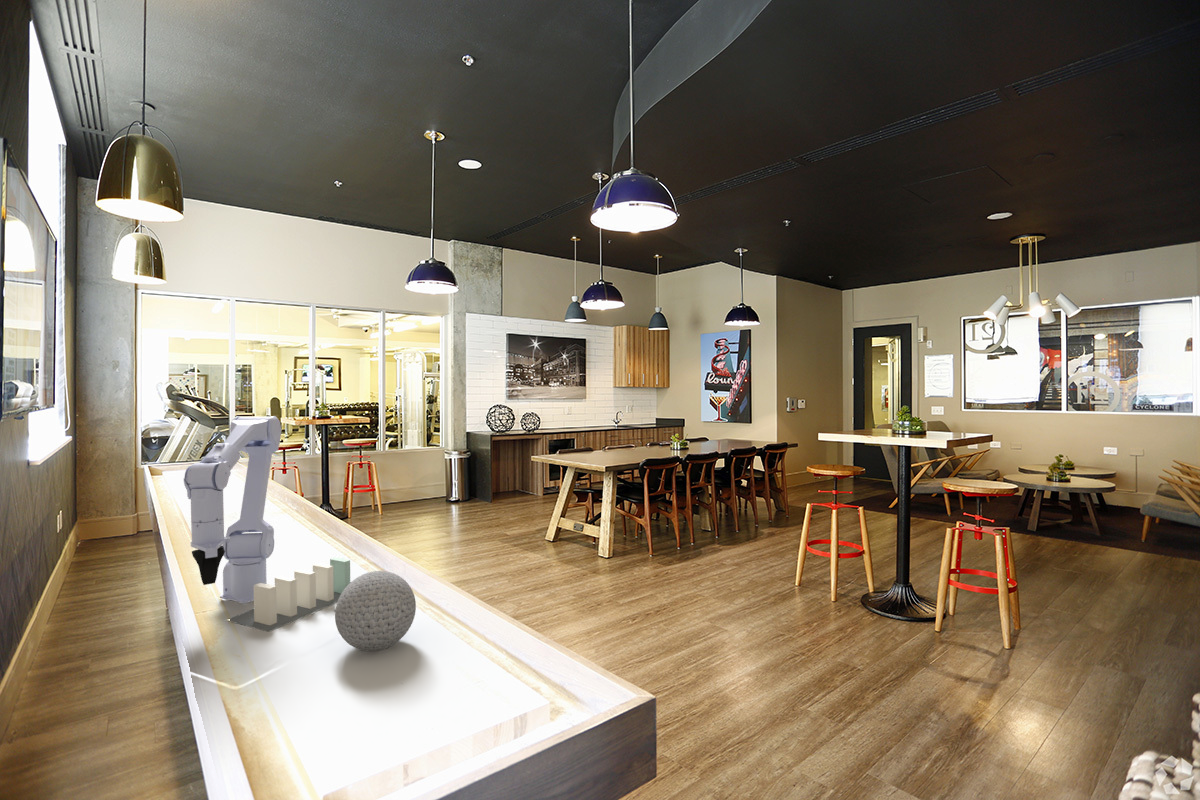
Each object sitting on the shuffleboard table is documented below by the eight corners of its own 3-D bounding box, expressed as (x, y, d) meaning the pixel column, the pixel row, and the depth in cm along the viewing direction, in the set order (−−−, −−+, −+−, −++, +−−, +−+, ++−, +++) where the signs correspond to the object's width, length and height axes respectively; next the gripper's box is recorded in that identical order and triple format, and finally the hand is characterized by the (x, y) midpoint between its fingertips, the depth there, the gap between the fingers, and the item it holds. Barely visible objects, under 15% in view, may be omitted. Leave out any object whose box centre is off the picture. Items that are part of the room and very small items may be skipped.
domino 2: (290, 616, 131) (290, 581, 131) (275, 613, 133) (274, 578, 133) (297, 614, 133) (296, 579, 132) (281, 610, 135) (281, 575, 134)
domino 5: (345, 594, 145) (344, 561, 144) (330, 591, 147) (330, 559, 147) (350, 592, 146) (350, 560, 146) (335, 588, 148) (335, 557, 148)
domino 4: (328, 601, 140) (327, 568, 140) (313, 597, 142) (312, 565, 142) (333, 599, 142) (333, 566, 141) (318, 595, 144) (318, 563, 143)
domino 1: (269, 625, 127) (269, 588, 126) (254, 621, 129) (253, 585, 128) (276, 622, 128) (276, 586, 128) (261, 618, 130) (260, 582, 130)
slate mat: (224, 621, 129) (224, 619, 129) (333, 580, 156) (333, 578, 156) (268, 633, 124) (268, 631, 124) (373, 588, 150) (373, 586, 150)
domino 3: (310, 608, 136) (309, 574, 135) (294, 605, 138) (294, 571, 137) (316, 606, 137) (315, 572, 137) (300, 602, 139) (300, 569, 139)
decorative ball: (338, 672, 108) (337, 591, 107) (333, 639, 121) (332, 567, 120) (422, 654, 115) (422, 578, 114) (409, 625, 128) (408, 557, 127)
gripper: (234, 523, 121) (235, 588, 122) (226, 510, 133) (227, 570, 133) (192, 528, 117) (194, 596, 117) (187, 515, 128) (189, 576, 129)
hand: (209, 583), depth 125 cm, fingers closed
